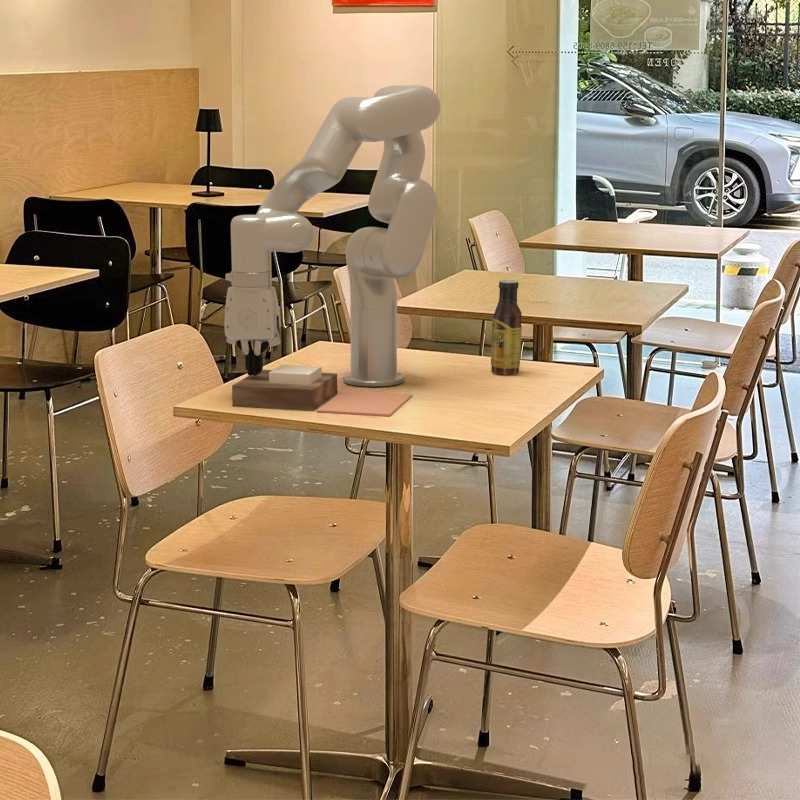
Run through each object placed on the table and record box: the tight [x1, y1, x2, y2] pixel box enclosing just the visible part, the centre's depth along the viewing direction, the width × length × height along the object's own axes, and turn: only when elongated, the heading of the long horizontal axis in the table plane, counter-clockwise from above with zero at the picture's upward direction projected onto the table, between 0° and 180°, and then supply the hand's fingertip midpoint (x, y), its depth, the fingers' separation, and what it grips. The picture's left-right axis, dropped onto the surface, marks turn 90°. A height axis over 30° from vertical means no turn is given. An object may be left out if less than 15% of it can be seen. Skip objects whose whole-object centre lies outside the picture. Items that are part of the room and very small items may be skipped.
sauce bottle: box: [490, 279, 523, 376], centre depth 287 cm, size 6×6×20 cm
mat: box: [316, 390, 413, 417], centre depth 260 cm, size 18×14×1 cm
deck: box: [231, 369, 338, 412], centre depth 263 cm, size 16×16×4 cm
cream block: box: [269, 364, 323, 385], centre depth 262 cm, size 8×8×2 cm
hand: (254, 374), depth 264 cm, fingers closed
